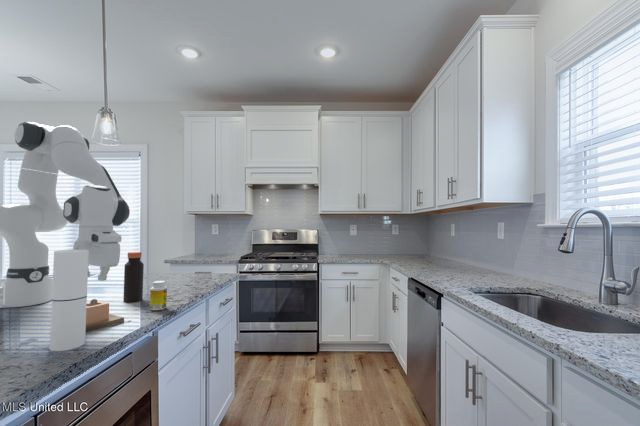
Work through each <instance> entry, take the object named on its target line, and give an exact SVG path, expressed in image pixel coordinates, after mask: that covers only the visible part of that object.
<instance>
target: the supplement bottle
mask: <svg viewBox="0 0 640 426" xmlns="http://www.w3.org/2000/svg"><path fill="white" fill-rule="evenodd" d="M149 289H150V290H149V292H150V294H149V310H151V311H161V310H162V311H163V310H165V309H166V308H167V300H168V299H167V296H168V295H167V294H168V287H167V286H166V281H165V280H155V281H152V287H150V288H149Z"/></svg>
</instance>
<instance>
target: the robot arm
mask: <svg viewBox="0 0 640 426" xmlns="http://www.w3.org/2000/svg"><path fill="white" fill-rule="evenodd" d="M14 138H15V139H14V141H15V143H16V145H17V146H18V147H19V148H20V149H23V150H26V151H25V153H24V155H23V157H22V162H21V165H20V170H19V176H18V177H19V178H18V183H17V188H18V190H19V191H20V192H21V193H23V194H24V195H26V196H27V197H28V200H29V204H19V203H9V204H2V205H0V235H1V236H2V237H3V238H4V240H5V242H6V244H7V246H8V250H9V251H8V252H9V267H8V268H7V271H6V273H5V275H6V276H5V280H4V281H3V282H2V283H1V284H0V309H5V308H6V309H7V308H18V307H19V308H20V307H21V308H22V307H29V306H35V305H39V304H40V305H42V304H44V303H48V302H50V301H51V302H52V286H53V277H52V278H51V277H50V275H49V274H50V266H49V247H48V245H46V244H45V243H44V242H42V241H40V240H39V239H38V237H37V235H36V233H48V232H55V231H58V230H59V231H60V230H62V229H64V228H65V227H66V225H67V223H71V224H75V225H78V234H77V235H78V237H77V238H76V240H75V241H74V243H73V248H72V250H89V256H88V267H89V266H96V267H99V270H100V272H99V274H98V275H97V281H101V282H102V281H107V280H108V278H107V277H108V275H109V274H108V273H109V271H110V269H111V268H112V267H113V268H114V267H117V266H118V265H119V263H120V256H121V242H122V235H121V234H119V233H118V232H117V231H115V230H114V227H119V226H121V225H122V224H124V223H125V222H126V221H127V220H128V219H129V217H130V212H131V210H130V207H129V205H128V203H127V202H126V201H125V199H124V198H123V197H122V196H121V194H120V192H119V191H118V188H117V186H116V184H115V182H114V180H113V179H112V178H111V176H110V173H109V172H108V170H107V169H106V167H105V166H103V165H102V164H100V163H99V162H98V161H97V160H96V159H95V158H94V156H92V154H91V152H90V142H89V140H88V138H86V136H84V135H82V133H81V132H80V130H78V129H77V128H75V127H72V126H70V125H59V126H56V127H54V126H49V125H45V124H39V123H37V122H33V121H32V122H31V121H23V122H21V123H19V124H18V126H17V127H16V129H15V131H14ZM59 171H60V172H61V173H63V174H65V175H67V176H71V177H75V178H77V179H80V180H83V181H86V182H88V183H90V184H87V185H84V186H83V187H82V189H81V192H80V193H79V194H77V195H73V196H70V197H69V198H68V199H66V200H65V201H64V203H63V208H62V206H60V204H59V201H58V199H57V193H56V192H57V185H58V184H57V182H58V176H59ZM90 276H91V271H89V268H88V278H89V277H90Z"/></svg>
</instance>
